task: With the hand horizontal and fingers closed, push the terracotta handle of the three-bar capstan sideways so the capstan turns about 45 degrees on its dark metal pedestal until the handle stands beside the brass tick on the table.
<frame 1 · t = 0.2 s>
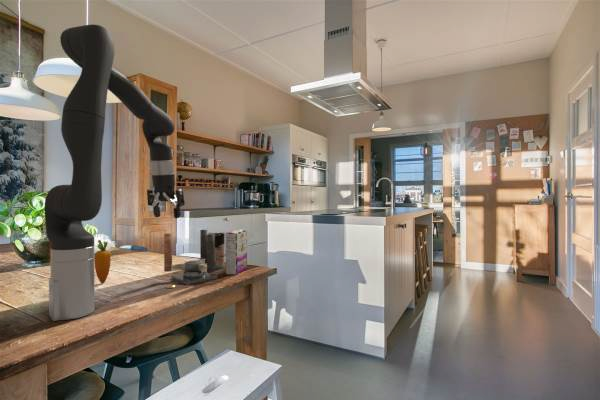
hand: (167, 217, 117), 22 cm above the table, tool pointing down, fingers open, 8 cm apart
candy bar box: (236, 272, 129), on the table
dark printed box: (216, 267, 136), on the table
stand: (194, 278, 118), on the table
carrot: (102, 284, 110), on the table
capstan: (194, 251, 116), point 10 cm above the table, hinge at 0.0°
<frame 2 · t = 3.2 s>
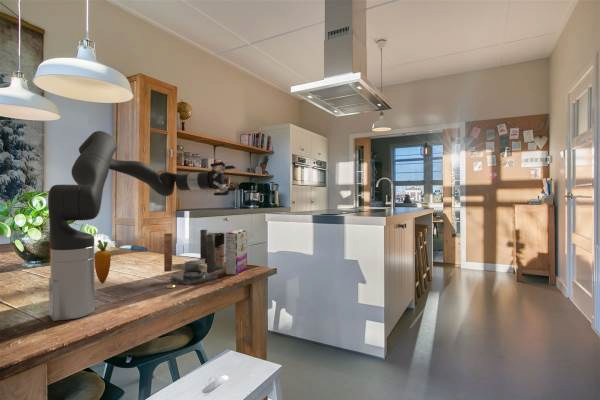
hand: (236, 177, 137), 38 cm above the table, tool horizontal, fingers open, 8 cm apart
nothing on the table moved.
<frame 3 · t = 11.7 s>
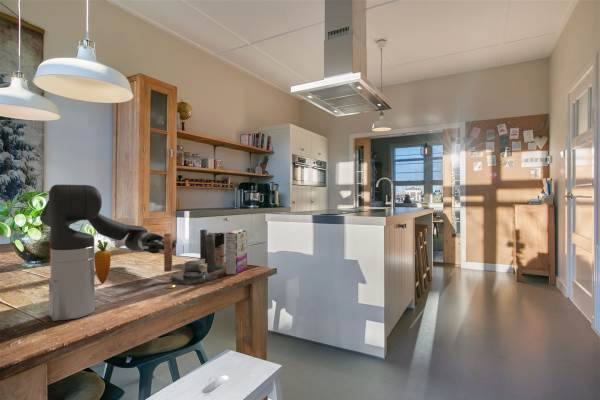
hand: (170, 248, 116), 11 cm above the table, tool horizontal, fingers closed
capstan: (194, 251, 116), point 10 cm above the table, hinge at 0.3°, touching gripper
everything else where it was.
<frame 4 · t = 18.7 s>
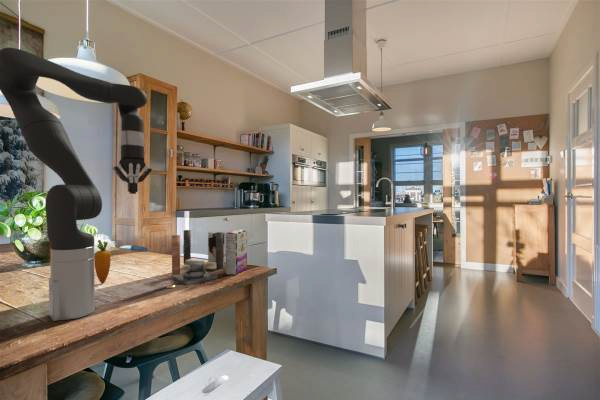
hand: (132, 193, 115), 31 cm above the table, tool pointing down, fingers closed
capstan: (197, 251, 117), point 10 cm above the table, hinge at 40.8°
everything else where it was.
at the end: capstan at +41° (first picture: +0°) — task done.
